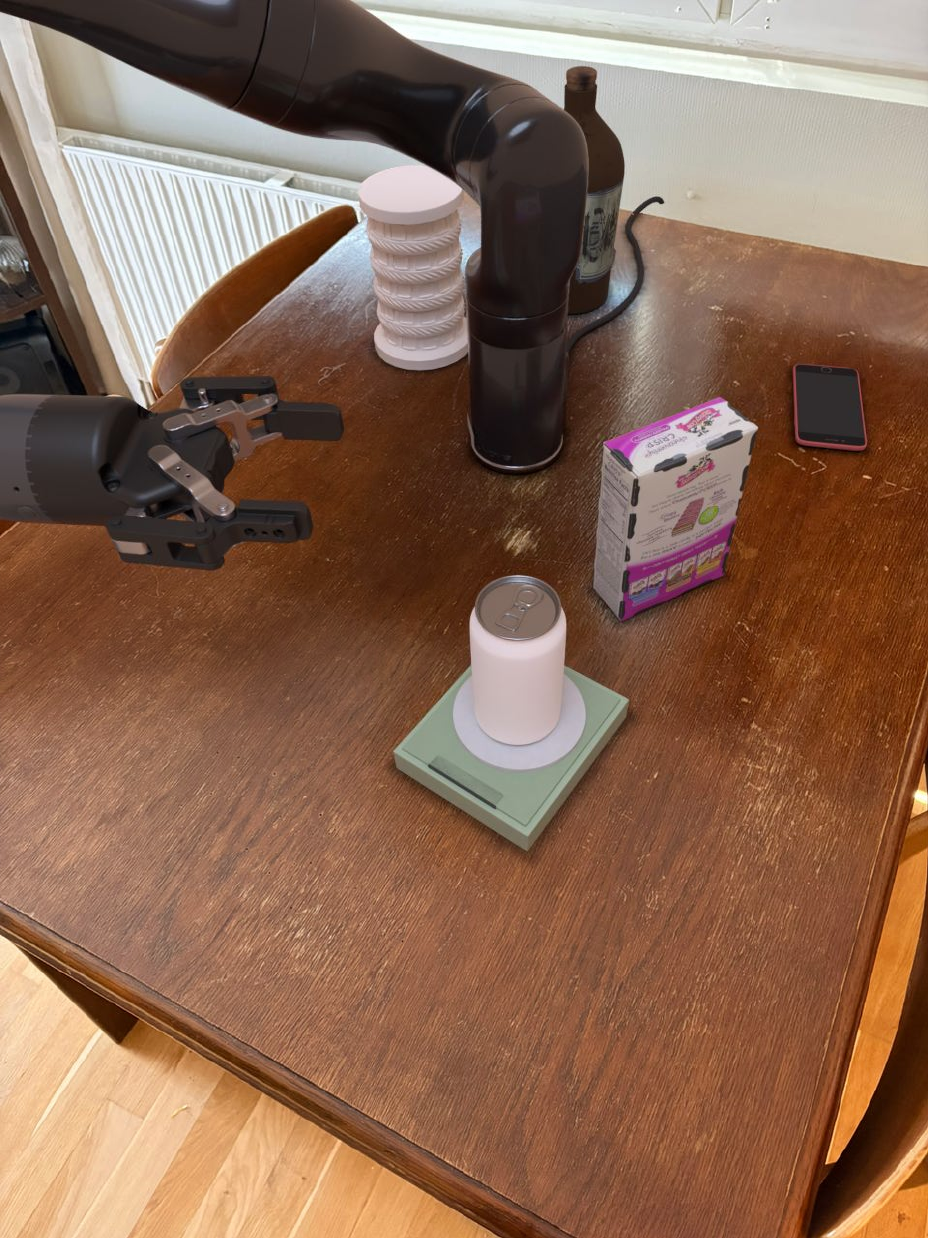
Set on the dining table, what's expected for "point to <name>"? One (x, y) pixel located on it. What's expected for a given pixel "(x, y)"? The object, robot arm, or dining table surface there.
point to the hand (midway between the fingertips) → (326, 469)
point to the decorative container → (416, 266)
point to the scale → (510, 756)
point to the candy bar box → (669, 505)
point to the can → (517, 659)
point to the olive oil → (595, 193)
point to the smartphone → (828, 407)
